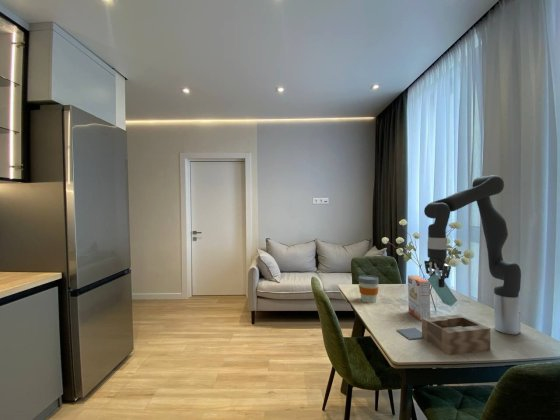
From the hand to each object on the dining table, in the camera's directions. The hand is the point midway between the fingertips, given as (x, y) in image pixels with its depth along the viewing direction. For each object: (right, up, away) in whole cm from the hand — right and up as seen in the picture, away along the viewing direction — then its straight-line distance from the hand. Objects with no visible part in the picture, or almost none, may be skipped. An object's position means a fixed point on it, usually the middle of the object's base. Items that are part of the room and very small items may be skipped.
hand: (436, 285), depth 128 cm
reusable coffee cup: (-13, -25, +57) cm, 63 cm away
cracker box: (+6, -25, +30) cm, 39 cm away
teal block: (+1, -3, 0) cm, 3 cm away
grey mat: (-8, -25, +7) cm, 27 cm away
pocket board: (+6, -25, -3) cm, 26 cm away
